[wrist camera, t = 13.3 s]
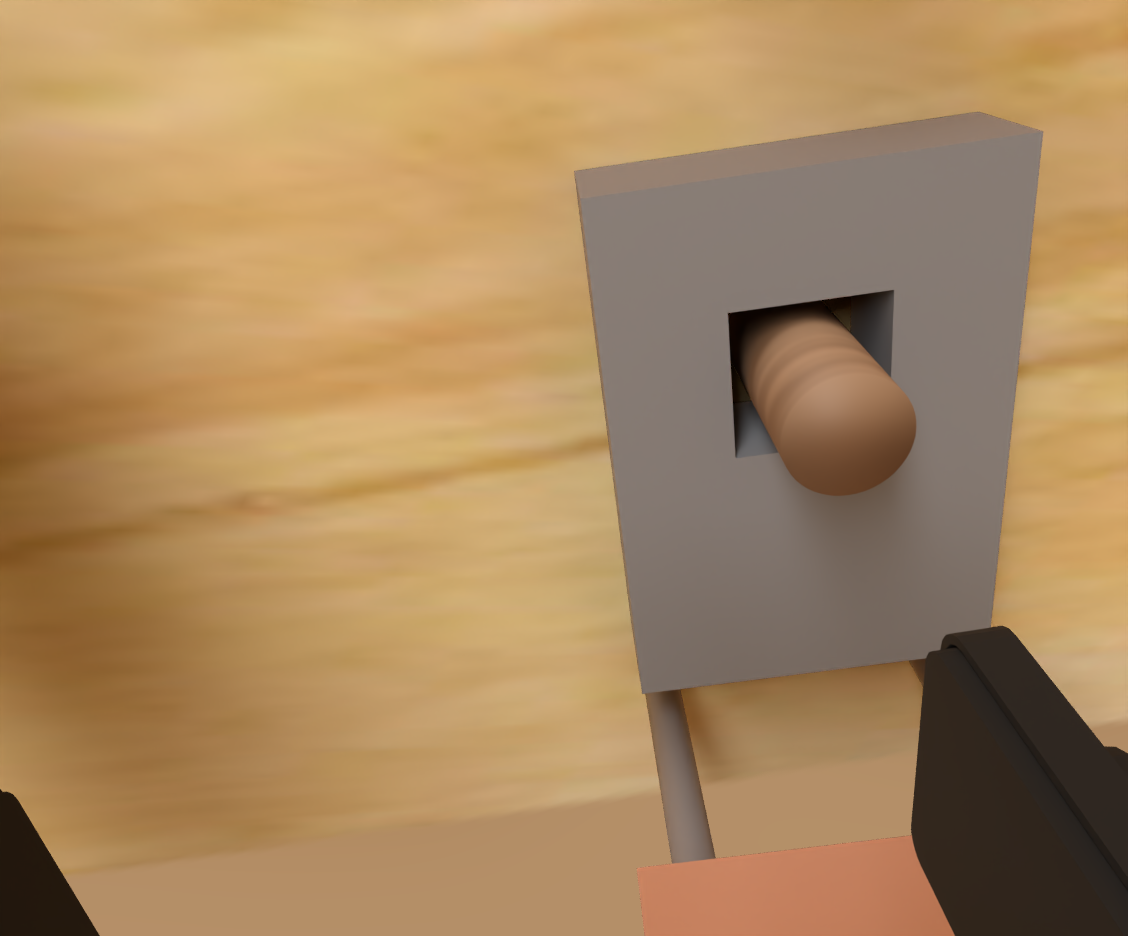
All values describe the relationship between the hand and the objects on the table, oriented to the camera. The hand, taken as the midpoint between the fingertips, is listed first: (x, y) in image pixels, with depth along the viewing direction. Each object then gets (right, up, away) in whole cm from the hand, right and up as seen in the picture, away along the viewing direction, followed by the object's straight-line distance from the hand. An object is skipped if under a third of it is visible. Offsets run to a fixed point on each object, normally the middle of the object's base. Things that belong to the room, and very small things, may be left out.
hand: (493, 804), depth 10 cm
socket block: (+9, +6, +27) cm, 29 cm away
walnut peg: (+9, +9, +26) cm, 28 cm away
